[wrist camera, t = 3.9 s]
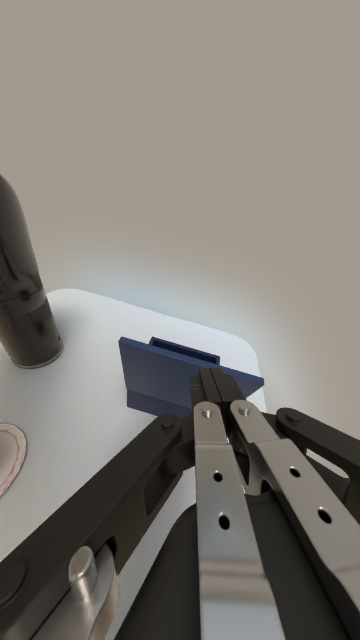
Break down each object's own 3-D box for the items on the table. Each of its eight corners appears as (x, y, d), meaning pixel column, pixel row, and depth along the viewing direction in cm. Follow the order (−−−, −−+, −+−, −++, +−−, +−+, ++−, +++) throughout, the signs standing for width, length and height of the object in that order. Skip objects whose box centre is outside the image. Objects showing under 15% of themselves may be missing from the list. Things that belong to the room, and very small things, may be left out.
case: (149, 355, 45) (152, 336, 41) (210, 373, 45) (219, 356, 40) (126, 406, 35) (127, 388, 30) (206, 431, 34) (218, 415, 30)
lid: (121, 336, 19) (118, 341, 19) (263, 378, 19) (264, 385, 18) (128, 384, 30) (126, 388, 30) (219, 412, 30) (219, 417, 29)
